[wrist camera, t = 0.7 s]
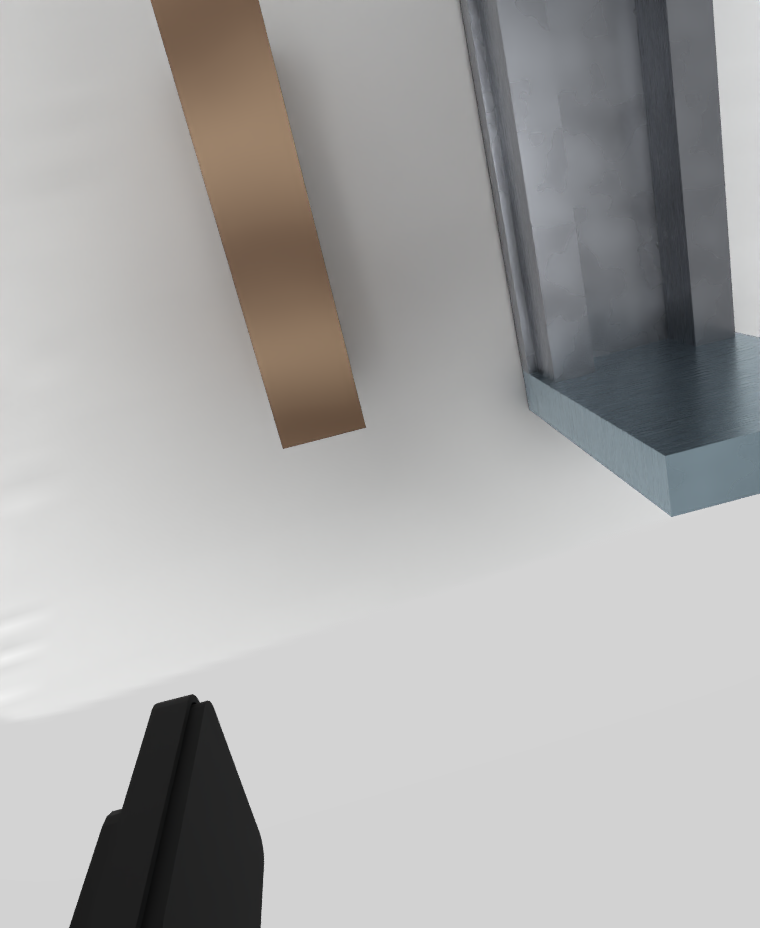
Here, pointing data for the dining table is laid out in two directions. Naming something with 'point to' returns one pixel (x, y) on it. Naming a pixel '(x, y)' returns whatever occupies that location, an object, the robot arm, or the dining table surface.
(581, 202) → the door track
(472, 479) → the dining table surface
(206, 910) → the robot arm
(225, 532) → the dining table surface
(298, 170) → the brown rectangular block
